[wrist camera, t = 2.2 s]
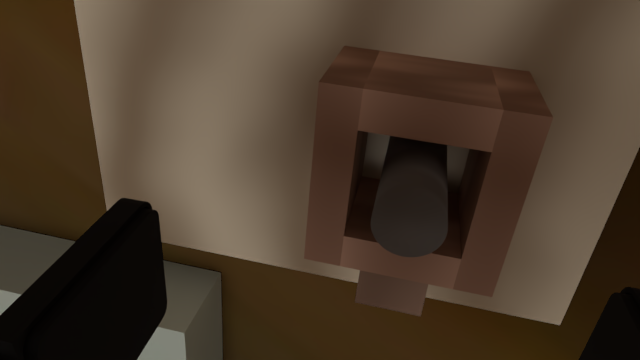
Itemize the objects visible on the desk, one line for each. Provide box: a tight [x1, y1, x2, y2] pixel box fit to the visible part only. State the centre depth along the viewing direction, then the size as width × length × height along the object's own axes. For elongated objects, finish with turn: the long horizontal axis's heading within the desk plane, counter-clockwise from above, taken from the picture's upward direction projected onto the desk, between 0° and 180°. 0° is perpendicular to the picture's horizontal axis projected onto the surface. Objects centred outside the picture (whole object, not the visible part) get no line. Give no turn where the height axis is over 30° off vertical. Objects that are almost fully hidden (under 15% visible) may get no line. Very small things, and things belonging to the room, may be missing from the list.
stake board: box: [74, 0, 640, 325], centre depth 16 cm, size 20×14×6 cm
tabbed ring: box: [304, 46, 553, 316], centre depth 17 cm, size 6×8×4 cm
